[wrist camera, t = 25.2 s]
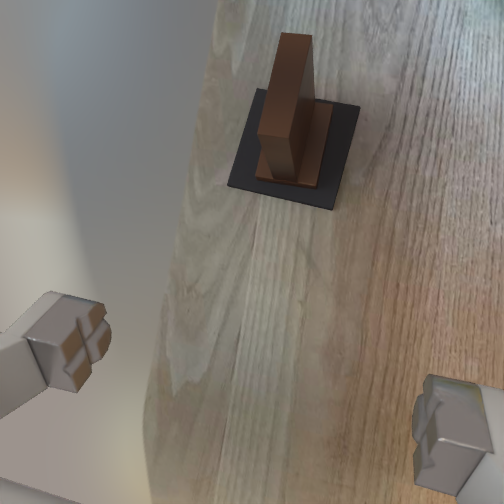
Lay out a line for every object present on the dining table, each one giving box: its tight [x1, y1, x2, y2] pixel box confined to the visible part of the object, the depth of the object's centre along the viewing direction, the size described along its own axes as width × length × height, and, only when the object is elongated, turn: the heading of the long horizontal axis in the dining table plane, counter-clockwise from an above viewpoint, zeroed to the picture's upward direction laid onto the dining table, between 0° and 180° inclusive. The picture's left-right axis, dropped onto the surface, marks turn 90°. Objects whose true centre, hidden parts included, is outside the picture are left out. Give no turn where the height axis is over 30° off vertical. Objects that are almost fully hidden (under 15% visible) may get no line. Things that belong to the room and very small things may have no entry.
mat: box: [227, 88, 360, 210], centre depth 35 cm, size 9×9×1 cm
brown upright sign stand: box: [255, 32, 333, 190], centre depth 30 cm, size 7×5×9 cm
